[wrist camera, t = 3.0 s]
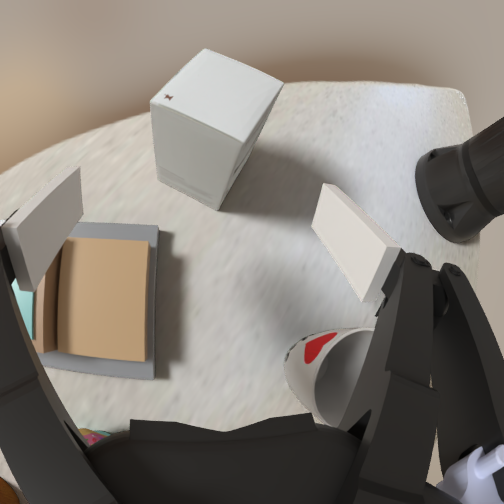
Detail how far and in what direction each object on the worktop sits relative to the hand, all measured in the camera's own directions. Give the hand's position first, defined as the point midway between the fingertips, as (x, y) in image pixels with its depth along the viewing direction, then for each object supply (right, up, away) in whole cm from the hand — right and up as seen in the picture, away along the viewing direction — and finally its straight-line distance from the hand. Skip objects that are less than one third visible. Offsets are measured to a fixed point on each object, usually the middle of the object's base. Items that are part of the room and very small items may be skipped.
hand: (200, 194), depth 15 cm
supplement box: (-2, +6, +15) cm, 17 cm away
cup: (+8, -14, +14) cm, 21 cm away
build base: (-16, -7, +9) cm, 20 cm away
